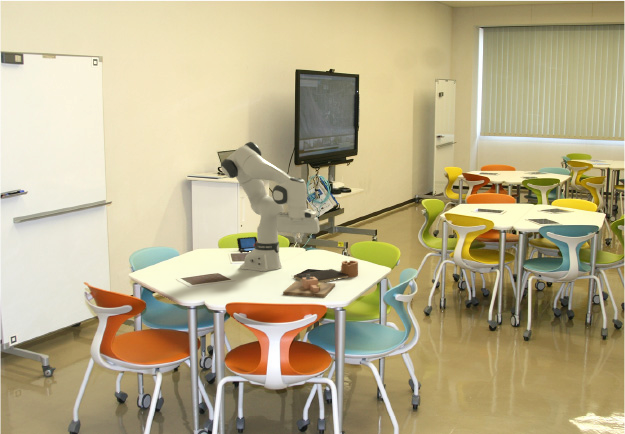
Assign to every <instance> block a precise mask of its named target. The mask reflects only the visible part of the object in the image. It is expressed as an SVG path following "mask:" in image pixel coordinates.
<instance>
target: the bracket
mask: <svg viewBox="0 0 625 434" xmlns="http://www.w3.org/2000/svg"><path fill="white" fill-rule="evenodd" d="M340 272H342V273H345V274H348V275H349V276H348V278H354V277H359V261H357V260H349V261H348V260H342V262H341V265H340Z"/></svg>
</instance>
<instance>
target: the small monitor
mask: <svg viewBox="0 0 625 434" xmlns="http://www.w3.org/2000/svg"><path fill="white" fill-rule="evenodd" d="M257 241H258V239H257V237H256V236H248V237H238V238H236V242H237V247H238V251H239V252H240V253H242V252H247V253H250V252H249V251H252V250H254V249H255V247H254V245H253V244H254V243H256V242H257Z"/></svg>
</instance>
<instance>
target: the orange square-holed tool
mask: <svg viewBox="0 0 625 434" xmlns="http://www.w3.org/2000/svg"><path fill="white" fill-rule="evenodd" d="M317 284H318V279H316V278H315V277H310V280H307V279H306V277H305V278H302V286H303V287H304V288H305V289H311V290H312V291H313V292H319V287H318V286H317Z"/></svg>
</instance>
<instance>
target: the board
mask: <svg viewBox="0 0 625 434" xmlns="http://www.w3.org/2000/svg"><path fill="white" fill-rule="evenodd" d="M318 283H320V290H319V292H313V291H312V290H311V289H305V288H304V287H303V286H302V281H300V280H295V281H294V282H293V283H292V284H290V285H288V287H287V288H286V289H284V290H283V291H282V295H283V296H284V295H285V296H294V297H295V296H296V297H297V296H298V297H310V298H311V297H313V298H326V296H327V295H328V294H329V293H331V292H332V290H333V289H334V288H335V287H336V283H335V282H333V283H332V282H323V283H321V282H318Z"/></svg>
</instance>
